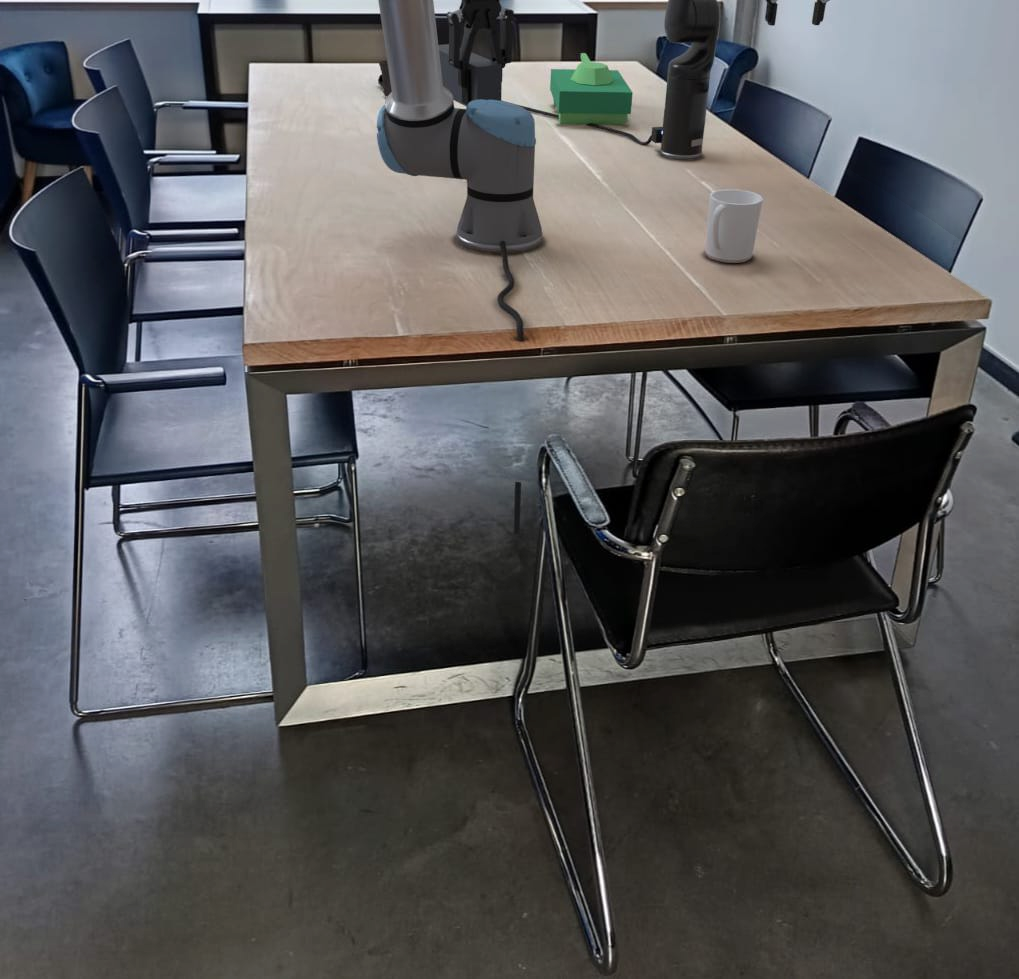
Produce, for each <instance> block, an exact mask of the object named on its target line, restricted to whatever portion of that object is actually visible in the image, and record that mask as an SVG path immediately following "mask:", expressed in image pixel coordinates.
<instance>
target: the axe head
mask: <svg viewBox="0 0 1019 979" xmlns="http://www.w3.org/2000/svg"><path fill="white" fill-rule="evenodd" d="M378 66H379V68H380V72H381V74H379V75H378V79H377V84H378V85H379V86H380V87H381V88H382V89H383V95H384V96H385V97H386V98H387V97H388V95H389V94H390V93H391V92H392V89H391V82H390V75H389V69H388V62H387V59H386V60H380V61H379V62H378Z"/></svg>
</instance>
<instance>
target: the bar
mask: <svg viewBox="0 0 1019 979" xmlns="http://www.w3.org/2000/svg"><path fill="white" fill-rule="evenodd" d="M438 47H439V56H440V65H441V74H442V83H443V86H444V87H445V88H447V89H448V90H449V91H450V92H451V93H452V95H453V101H454V102H457V103H458V104H461V105H462V106H464V107H465V108H466V107H467V105H466V104H464V103H462V87H460V86H459V85H458V69H457V68H455V67H452V66H450V65H449V43H447V44H438ZM460 49H461V47H460ZM467 69H468V70H470V71H471V101H473V100H480V99H482V100H498V101H501V100H502V89H503V88H502V85H503V84H502V83H503V69H502V65H501V64H498V63H496V62H494V61H492V59H489V58H486V57H484V56H481V55H479V54H476V53H474V52H472V51H471V56H470V60H469V64H468V68H467Z"/></svg>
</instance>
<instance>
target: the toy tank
mask: <svg viewBox="0 0 1019 979" xmlns="http://www.w3.org/2000/svg"><path fill="white" fill-rule="evenodd" d="M580 60H581V62H580V63H579V64H577V67H576V69H573V68H572V69H570V68H567V69H566V68H565V69H564V68H550V83H549V84H550V85H549V91H550V93H551V95H552V100H553V107H556V111H557V112H558V115H559V118H558V124H559V125H565V126H567V125H570V126H571V125H572V126H574V125H575V126H587V125H586V124H589V123H593V124H597V125H600V126H626V125H627V122H628V115H631V114H632V104H633V91H632V89H631V88H630V86H629V84H628V83H627V82H626V80H625V78H624V77H623V75H622V74H621V73H620V71H619V70H618V69H617V70H615V69H610V68H609V67H608V66H609V65H607V64H605V63H602V62H595V61H591V59H590V58H589V55H587V53H585V52H582V53H581V52H580Z"/></svg>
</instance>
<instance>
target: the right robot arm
mask: <svg viewBox="0 0 1019 979" xmlns="http://www.w3.org/2000/svg"><path fill="white" fill-rule="evenodd" d="M765 2H766V8H765V16H764V20H765V22H766V23H767V25H768V26H775V25H776V19H777V14H778V13H777V12H778V5H779V4H778V3H777V2H778V0H765ZM828 2H830V0H816V1H815V2H814V6H813V12H812V19H811V24H812V25H813V26H820V24H821V23H822V22H823V21H824V19H825V12H826V6H827V3H828ZM665 8H666V9H665V14H664V33H665V37H666V39H667V40H668V41H669V42H670V43H672V44H690V46H689V48H688V49H687V50H686V51H685V52H684V53H682V54H681V55H679V56H677V57H675V58H673V59H671V60H670V61H669V63H668V68H667V79H666V89H665V98H664V99H665V101H664V109H663V119H662V126H652V127H651V135H650V136H649V137H648V139H647V141H641V140H639V139H638V138H637V137H636V136H635V135H633V134H632V133H629V132H626V131H623V130H620V129H615V128H613V127H612V128H611V127H607V126H605V125H597V124H593V123H589V124H586V125H585V126H587V127H591V128H594V129H598V130H602V131H606V132H609V133H613V134H617V135H621V136H624V137H628V138H630V139H631V140H632V141H633V142H635V143H637V144H639V145H641V146H649V145H650V144H651V143H654V144H660V150H659V154H660V156H662V157H663V158H667V159H672V160H679V161H691V160H697V159H700V158H701V157H702V156H703V144H704V135H705V125H706V116H707V108H708V98H709V88H710V81H711V71H712V67H713V66H714V63H715V57H716V52H717V43H718V38H719V33H720V25H721V8H720V5H719V2H718V0H667V4H666V7H665ZM501 101H503V102H506V100H502V99H501ZM507 102H508V103H510V102H509V101H507ZM511 103H512V102H511ZM512 104H515V105H518V106H520V107H523V108H524V109H526V110H527V111H529V112H530V113H535V114H539V115H543V116H547V117H552V118H556V119H559V114H557V113H553V112H548V111H544V110H541V109H536V108H533V107H528V106H524V105H521V104H516V103H514V102H513V103H512Z"/></svg>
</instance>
